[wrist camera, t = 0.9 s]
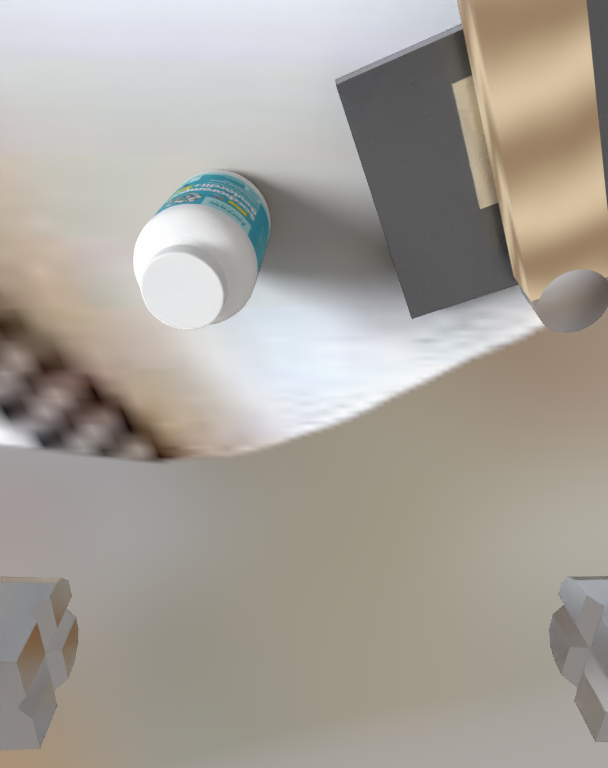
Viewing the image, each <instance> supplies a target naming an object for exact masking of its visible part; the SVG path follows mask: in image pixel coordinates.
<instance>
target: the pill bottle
mask: <svg viewBox="0 0 608 768" xmlns="http://www.w3.org/2000/svg"><path fill="white" fill-rule="evenodd" d="M270 230H271V218H270V212H269V208H268V206H267V203H266V201H265V199H264V197H263V196H262V194H261V193H260V191H259V190H258V189H257V188H256V187H255V186H254V185H253V184H252V183H251V182H250V181H249V180H247V179H246V178H244V177H243V176H241V175H239V174H236V173H234V172H231V171H226V170H207V171H203V172H200V173H198V174H195V175H193V176H192V177H190V178H189V179H188V180H186V181H185V182H184V183H183V184H182V185H181V186H180V187H179V188H178V190H177V191H176V192H175V193H174V194H173V195H172V196H171V197H170V198H169V200H168V201H167V202H166V203H165V204H164V205H163V206H162V208H161V209H160V210H159V211H158V212H157V213H156V214H155V215H154V217H153V218H152V219H151V220H150V221H149V222H148V223H147V224H146V226H145V227H144V228H143V230H142V231H141V233H140V235H139V237H138V239H137V242H136V245H135V249H134V258H133V263H134V271H135V276H136V279H137V282H138V284H139V286H140V288H141V294H142V298H143V300H144V303H145V305H146V306H147V308H148V309H149V311H150V312H151V313H152V314H153V315H154V316H155V317H156V318H157V319H158V320H160V321H161V322H163V323H164V324H166V325H168V326H170V327H173V328H176V329H181V330H196V329H200V328H203V327H205V326H207V325H210V324H216V323H219V322H222V321H224V320H227V319H228V318H230V317H232V316H233V315H235V314H236V313H237V312H239V311H240V310H241V309H242V308H243V307H244V305H245V304H246V303H247V301H248V300H249V298H250V296H251V294H252V292H253V289H254V287H255V284H256V280H257V277H258V273H259V270H260V267H261V263H262V260H263V257H264V253H265V250H266V247H267V243H268V240H269V236H270Z"/></svg>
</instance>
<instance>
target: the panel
mask: <svg viewBox="0 0 608 768" xmlns="http://www.w3.org/2000/svg"><path fill="white" fill-rule="evenodd" d="M586 1H587V11H588V21H589V31H590V41H591V51H592V60H593V70H594V80H595V90H596V100H597V110H598V120H599V130H600V140H601V149H602V159H603V169H604V179H605V189H606V199H607V209H608V0H586ZM335 81H336V86H337V89H338V93H339V96H340V99H341V102H342V105H343V108H344V111H345V114H346V117H347V120H348V123H349V126H350V130H351V133H352V136H353V139H354V142H355V145H356V148H357V151H358V154H359V157H360V160H361V163H362V167H363V170H364V173H365V176H366V179H367V182H368V185H369V188H370V191H371V194H372V197H373V201H374V204H375V207H376V210H377V213H378V216H379V219H380V222H381V225H382V228H383V231H384V234H385V238H386V241H387V244H388V247H389V250H390V253H391V256H392V259H393V262H394V265H395V268H396V271H397V275H398V278H399V281H400V284H401V287H402V290H403V293H404V296H405V299H406V302H407V305H408V308H409V312H410V315H411V318H412V319H413V318H416V317H419V316H422V315H425V314H428V313H431V312H434V311H437V310H441V309H444V308H447V307H450V306H453V305H456V304H459V303H462V302H465V301H468V300H471V299H474V298H477V297H481V296H484V295H487V294H490V293H493V292H496V291H499V290H502V289H505V288H508V287H511V286H514V285H517V284H519V283H518V282H517V281H516V279H515V278H514V276H513V271H512V266H511V261H510V256H509V251H508V247H507V242H506V237H505V232H504V227H503V222H502V217H501V212H500V207H499V203H498V198H497V193H496V188H495V183H494V178H493V173H492V168H491V164H490V159H489V154H488V149H487V144H486V139H485V134H484V129H483V125H482V120H481V115H480V110H479V105H478V100H477V95H476V90H475V85H474V81H473V76H472V71H471V66H470V61H469V56H468V51H467V46H466V42H465V37H464V32H463V27H462V24H460V25H458V26H456V27H453V28H451V29H449V30H447V31H444V32H442V33H440V34H438V35H435V36H433V37H431V38H428V39H426V40H424V41H422V42H419V43H417V44H415V45H413V46H410V47H408V48H406V49H404V50H401V51H399V52H397V53H395V54H392V55H390V56H388V57H385V58H383V59H381V60H379V61H376V62H374V63H372V64H370V65H367V66H365V67H363V68H361V69H358V70H356V71H354V72H352V73H349V74H347V75H345V76H342V77H340V78H338V79H336V80H335Z"/></svg>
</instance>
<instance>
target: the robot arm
mask: <svg viewBox="0 0 608 768" xmlns="http://www.w3.org/2000/svg"><path fill="white" fill-rule="evenodd" d="M558 595H559V596H560V598H561V600H562V601H563V603H564V605H563V606H562V607H561V608H560V609H559V610H558V611H556V612H555V613H554V614H553V615H552V620H551V624H550V628H549V634H550V647H551V650H552V654H553V657H554V660H555V662H556V664H557V666H558V669H559V671H560V673H561V675H562V676H564V677H565V678H566V679H567V680H569V681H570V682H571V683H572V684H574V685H575V686H576V687H577V692H576V696H575V703H576V705H577V706H578V709H579V711H580V713H581V715H582V716H583V718H584V720H585V723H586V724H587V726H588V728H589V730H590V732H591V734H592V736H593V738H594V740H595V742H608V576H592V577H591V576H586V577H585V576H583V577H567V578H566V579H565V580H564V581H563V582H562V584H561V587H560V591H559V594H558ZM71 597H72V594H71V590H70V586H69V582H68V580H66V579H64V578H38V577H36V578H35V577H0V750H19V749H20V750H21V749H40V748H41V745H42V742H43V740H44V738H45V735H46V733H47V730H48V728H49V725H50V723H51V720H52V718H53V715H54V713H55V710H56V708H57V702H56V697H55V693H54V691H55V690H56V689H57V688H58V687H59V686H60V685H62V684H63V683H64V682H65V681H66V680H67V679H68V678H69V675H70V672H71V670H72V667H73V665H74V661H75V657H76V651H77V646H78V624H77V619H76V616H75V615H74V614H72V613H71V612H70V611H69V610H68V609H67V606H68V604H69V602H70V599H71Z"/></svg>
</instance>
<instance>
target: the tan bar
mask: <svg viewBox="0 0 608 768" xmlns="http://www.w3.org/2000/svg"><path fill="white" fill-rule="evenodd" d="M457 3H458V7H459V12H460V17H461V22H462V27H463V32H464V37H465V42H466V46H467V51H468V56H469V61H470V66H471V71H472V76H473V81H474V85H475V90H476V95H477V100H478V105H479V110H480V115H481V120H482V125H483V129H484V134H485V139H486V144H487V149H488V154H489V159H490V164H491V168H492V173H493V178H494V183H495V188H496V193H497V198H498V203H499V207H500V212H501V217H502V222H503V227H504V232H505V237H506V242H507V247H508V251H509V256H510V261H511V266H512V271H513V276H514V278H515V279H516V281H517V282H518V283H519V285H520V287H521V291H522V293H523V295H524V296H525V298H526V299H527V301H528V302H529V304H530V305H531V306H532V308H533V309H534V311H535V312H536V314H537V315H538V317H539V318H540V320H541V321H542V322H543V324H544V325H545V326H546V327H548V328H549V329H551V330H554V331H557V332H564V333H568V332H575V331H579V330H582V329H584V328H586V327H588V326H590V325H591V324H593V323H594V322H595V321H597V320H598V319H599V318H600V317H601V316H602V314H603V313H604V312H605V310H606V308H607V307H608V282H607V280H606V279H605V278H606V277H608V209H607V199H606V189H605V179H604V169H603V159H602V149H601V140H600V130H599V120H598V110H597V100H596V90H595V80H594V70H593V60H592V51H591V41H590V31H589V21H588V11H587V1H586V0H457Z"/></svg>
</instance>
